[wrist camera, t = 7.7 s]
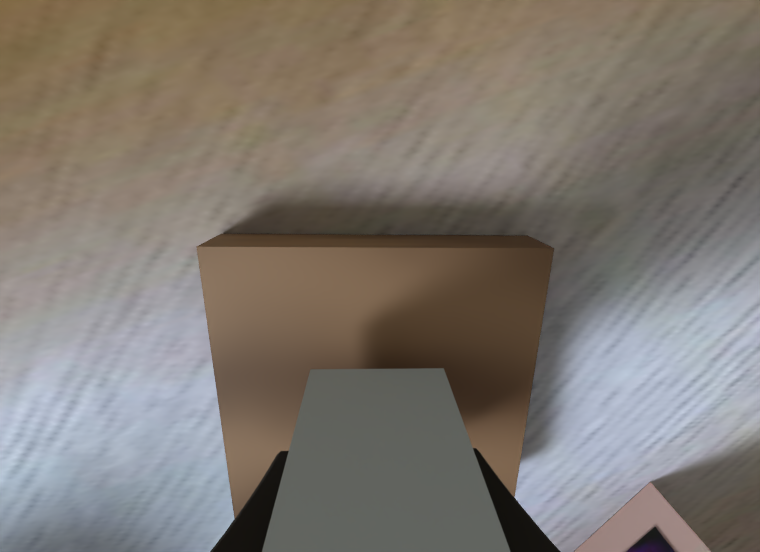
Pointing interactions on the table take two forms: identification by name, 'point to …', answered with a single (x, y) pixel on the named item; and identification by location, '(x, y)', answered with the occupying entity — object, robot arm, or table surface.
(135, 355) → the table surface
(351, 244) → the walnut base
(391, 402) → the slate block
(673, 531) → the greeting card
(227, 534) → the robot arm
